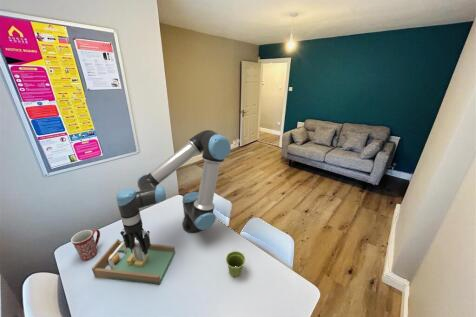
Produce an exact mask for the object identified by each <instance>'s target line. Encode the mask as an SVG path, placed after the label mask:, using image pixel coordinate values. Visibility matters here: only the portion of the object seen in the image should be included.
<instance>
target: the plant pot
mask: <svg viewBox="0 0 476 317" xmlns="http://www.w3.org/2000/svg"><path fill="white" fill-rule="evenodd" d="M225 263H226V264H227V268H228V274H230V276H231V277H233V278H237V277H240V276H241V274H242V270H243V267H244V265H245V264H246V256H245V255H244V254H243V252H241V251H237V250H235V251H231V252H229V253H228V254H227V255H226V257H225ZM235 266H236V267H235Z"/></svg>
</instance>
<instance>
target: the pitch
mask: <svg viewBox="0 0 476 317" xmlns="http://www.w3.org/2000/svg"><path fill="white" fill-rule="evenodd" d="M138 243H139V242H136V241H135V245H136V244H138ZM150 245H151V246H150V247H149V249H148V253H147V254H148V256H149V258H148V259H147V261H146V262H145V264H144V266H143V267H135V265H134V263H135V262H134V263H133V264H132V265H128V263H127V259H128V258H129V257H130V255H131V254H132V253H131V249H130V248H126V246H125V243H124V240H120V239H116V240H115V242H114V243H112V245H111V246H110V247H109V248H108V249H107V251H106V252H105V253H104V254H103V255H102V256H101V257H100V258H99V260H98V261H97V262H96V263H95V264H94V265H93V266H92V267H91V271H92V273H93V275H94V278H98V279H106V280H107V279H108V280H116V281H121V282H122V281H123V282H124V281H125V282H131V283H132V282H133V283H140V284H147V285H149V284H150V285H158V286H159V285H161V284H162V281H163V279H164V277H165V274H166V273H167V271H168V269H169V266H170V265H171V263H172V260H173V258H174V256H175V255H176V249H175V245H165V244H153V243H150ZM119 253H122V254H124V255H123V257H122V258H121V259H120V260H119V262H117V265H115V263H113V257H114V256H115V255H116V254H119ZM111 254H112V255H111ZM110 255H111V256H110ZM109 256H110V257H109ZM108 257H109V258H108ZM108 265H109V268H106V267H107V266H108Z"/></svg>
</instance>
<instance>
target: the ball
mask: <svg viewBox="0 0 476 317" xmlns="http://www.w3.org/2000/svg"><path fill="white" fill-rule="evenodd" d="M111 255H112V254H111ZM111 255H110V256H111ZM110 256H109V257H110ZM109 257H108V258H109ZM118 261H120V254H119V253H117V254H116V255H115V256H114V257H113V263H114V264H116V263H118Z"/></svg>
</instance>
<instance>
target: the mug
mask: <svg viewBox="0 0 476 317" xmlns="http://www.w3.org/2000/svg"><path fill="white" fill-rule="evenodd" d="M95 233H96V238H95V237H94V235H95ZM100 238H101V232H100V229H97V228H95V229H93V230H91V229H84V230H81V231H79V232H76V233H75V234H74V235H73V236H72V237H71V239H70V241H71V243H72V245H73V246H74V248H75V250H76V252H77V255H78V256H79V257H80V259H81V261H90V260H92V259H93V258H95V257H96V256H97V254H98V249H97V248H98V244H99V241H100Z"/></svg>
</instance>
